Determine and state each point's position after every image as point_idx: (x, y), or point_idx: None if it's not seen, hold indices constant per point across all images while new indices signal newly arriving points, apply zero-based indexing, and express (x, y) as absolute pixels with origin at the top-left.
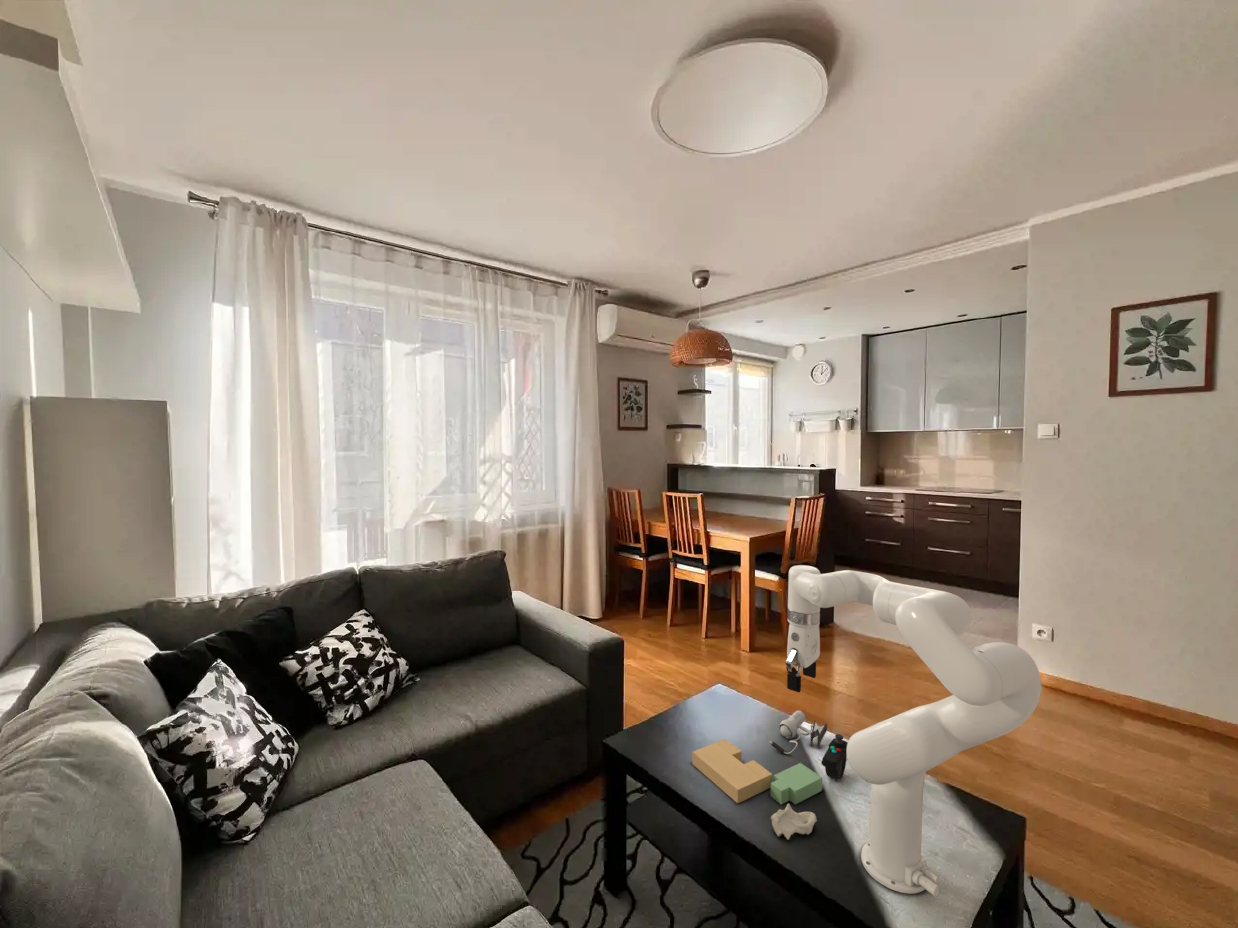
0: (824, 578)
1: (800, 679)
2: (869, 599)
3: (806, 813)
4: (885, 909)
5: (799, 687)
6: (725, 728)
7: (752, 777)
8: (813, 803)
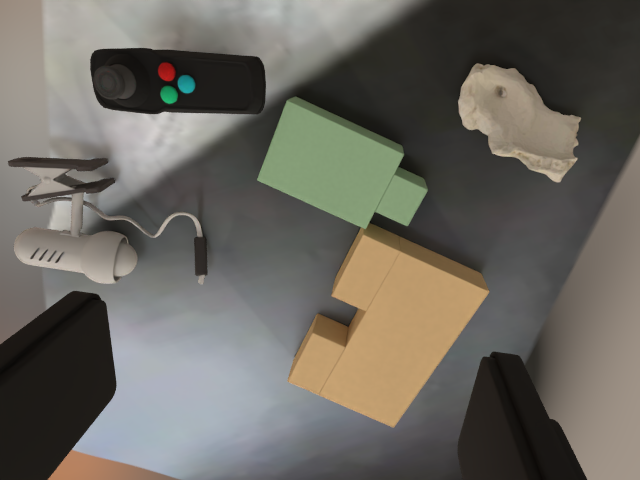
0: None
1: (572, 477)
2: None
3: (473, 98)
4: None
5: (530, 392)
6: (205, 384)
7: (411, 275)
8: (367, 102)
